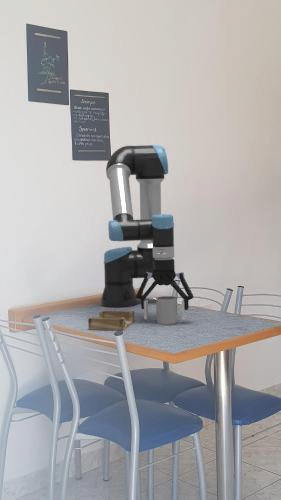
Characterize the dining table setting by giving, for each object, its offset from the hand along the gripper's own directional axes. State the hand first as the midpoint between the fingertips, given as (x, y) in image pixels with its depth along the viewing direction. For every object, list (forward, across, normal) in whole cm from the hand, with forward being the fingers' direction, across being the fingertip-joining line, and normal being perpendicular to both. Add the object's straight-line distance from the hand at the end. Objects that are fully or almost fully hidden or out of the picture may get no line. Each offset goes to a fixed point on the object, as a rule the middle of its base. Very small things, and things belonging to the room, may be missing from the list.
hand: (165, 318), depth 227 cm
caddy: (+1, -17, -8) cm, 19 cm away
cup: (+2, 0, 0) cm, 2 cm away
